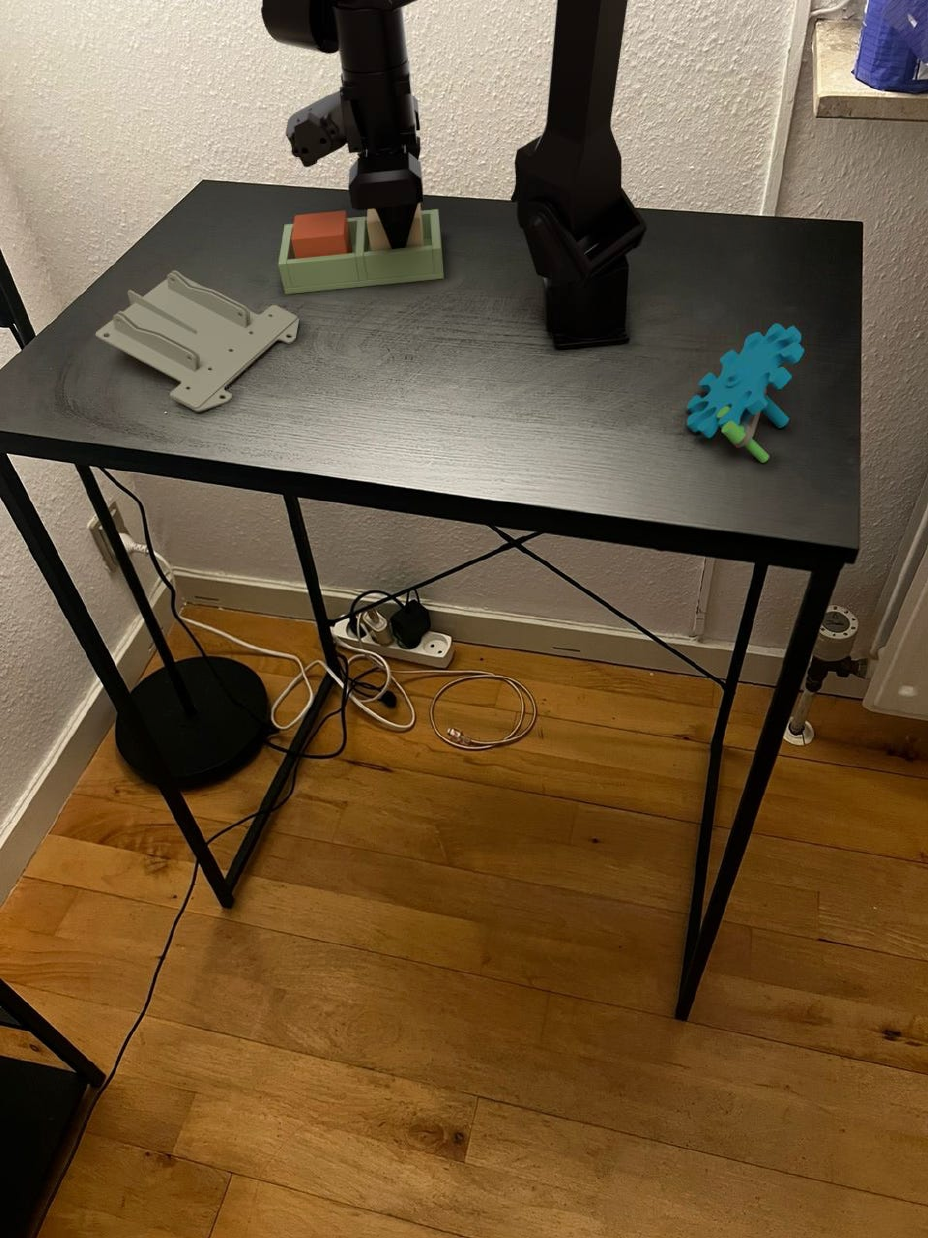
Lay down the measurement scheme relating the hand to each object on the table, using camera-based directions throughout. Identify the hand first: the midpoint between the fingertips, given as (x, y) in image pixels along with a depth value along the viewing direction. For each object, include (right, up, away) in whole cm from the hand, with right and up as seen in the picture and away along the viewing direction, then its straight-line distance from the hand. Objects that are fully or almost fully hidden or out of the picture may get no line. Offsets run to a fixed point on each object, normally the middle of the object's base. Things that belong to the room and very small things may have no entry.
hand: (398, 238), depth 91 cm
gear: (+27, -22, -19) cm, 40 cm away
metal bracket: (-18, -13, -6) cm, 23 cm away
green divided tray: (-3, -2, +2) cm, 4 cm away
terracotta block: (-7, -2, +2) cm, 8 cm away
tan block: (0, -1, +1) cm, 1 cm away
